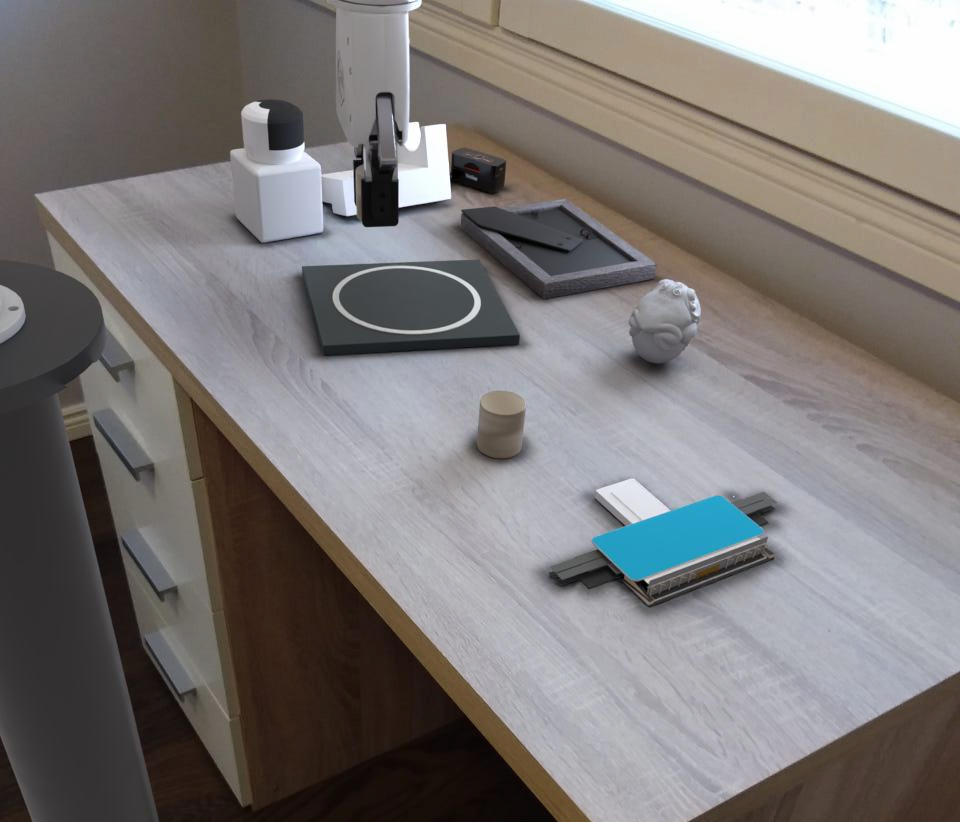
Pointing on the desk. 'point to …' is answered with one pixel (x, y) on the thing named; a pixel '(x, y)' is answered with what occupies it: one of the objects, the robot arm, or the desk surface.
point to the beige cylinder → (501, 424)
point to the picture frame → (556, 247)
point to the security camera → (276, 174)
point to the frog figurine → (664, 321)
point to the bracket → (402, 172)
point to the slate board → (406, 307)
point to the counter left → (359, 189)
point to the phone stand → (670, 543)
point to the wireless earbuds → (478, 170)
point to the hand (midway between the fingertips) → (376, 213)
